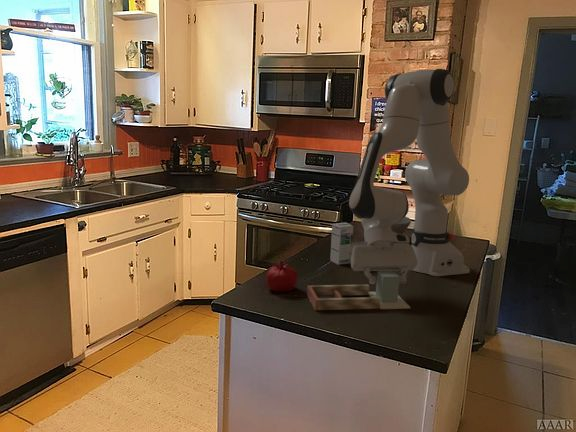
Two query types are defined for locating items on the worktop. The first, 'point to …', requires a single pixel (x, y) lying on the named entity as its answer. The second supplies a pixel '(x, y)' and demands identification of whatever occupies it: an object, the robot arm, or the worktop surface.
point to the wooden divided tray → (346, 302)
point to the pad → (392, 303)
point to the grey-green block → (387, 286)
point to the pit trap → (319, 296)
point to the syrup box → (341, 243)
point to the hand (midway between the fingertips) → (388, 282)
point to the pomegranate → (281, 278)
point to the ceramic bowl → (401, 225)
